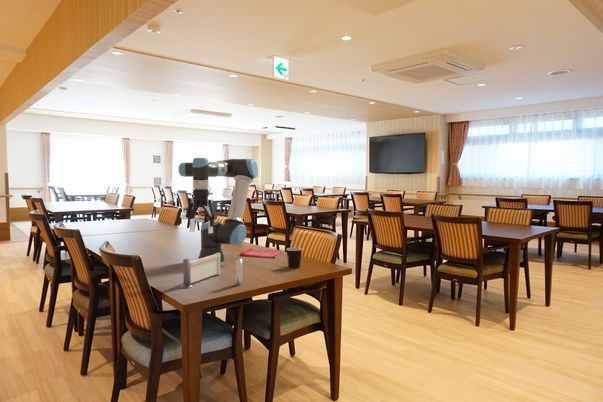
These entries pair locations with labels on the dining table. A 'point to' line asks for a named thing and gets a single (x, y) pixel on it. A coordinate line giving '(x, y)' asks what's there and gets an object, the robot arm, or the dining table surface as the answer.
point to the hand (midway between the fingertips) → (201, 232)
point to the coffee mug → (294, 257)
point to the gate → (201, 268)
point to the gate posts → (238, 274)
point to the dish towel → (261, 253)
